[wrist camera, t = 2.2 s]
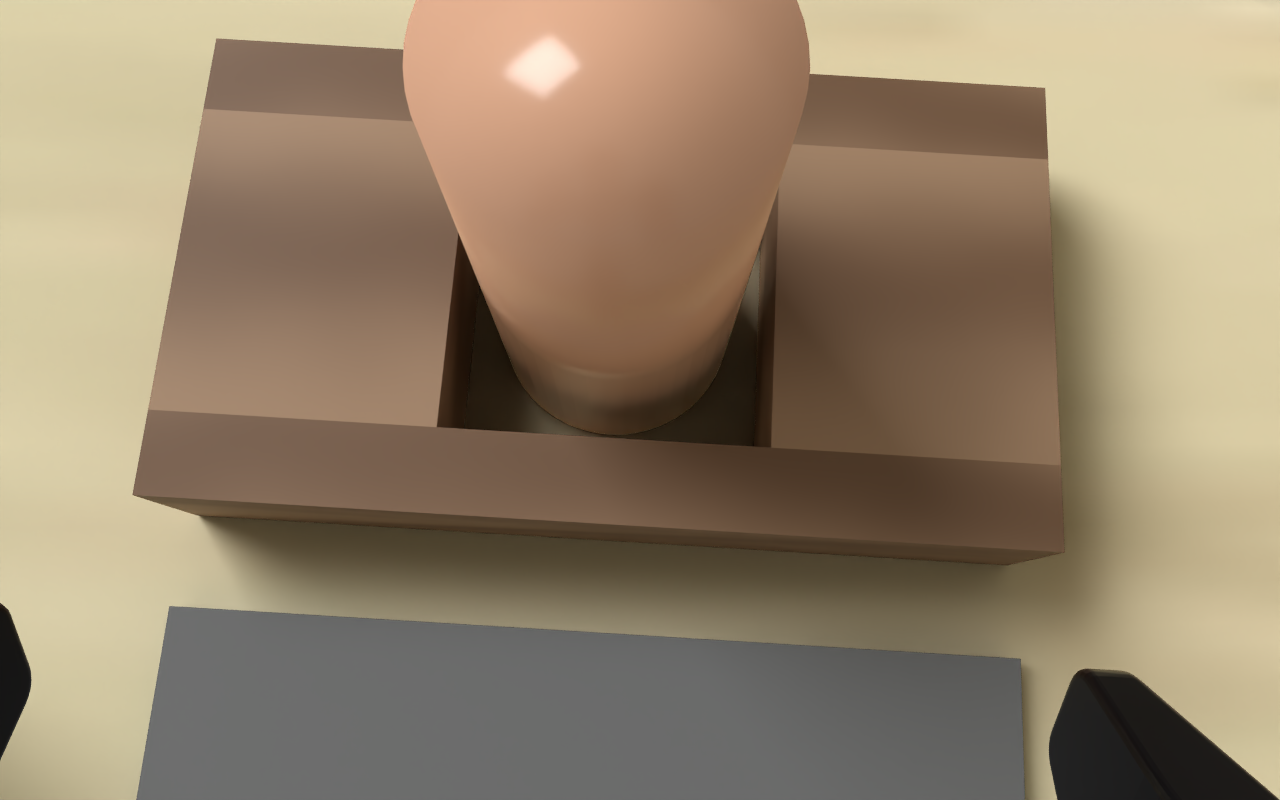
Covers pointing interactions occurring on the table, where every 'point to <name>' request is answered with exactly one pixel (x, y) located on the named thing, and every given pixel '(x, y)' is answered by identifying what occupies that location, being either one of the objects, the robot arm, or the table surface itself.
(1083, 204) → the table surface
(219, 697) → the mat
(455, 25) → the pink tall rounded piece
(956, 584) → the table surface
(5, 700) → the robot arm
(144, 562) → the table surface
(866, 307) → the well block
